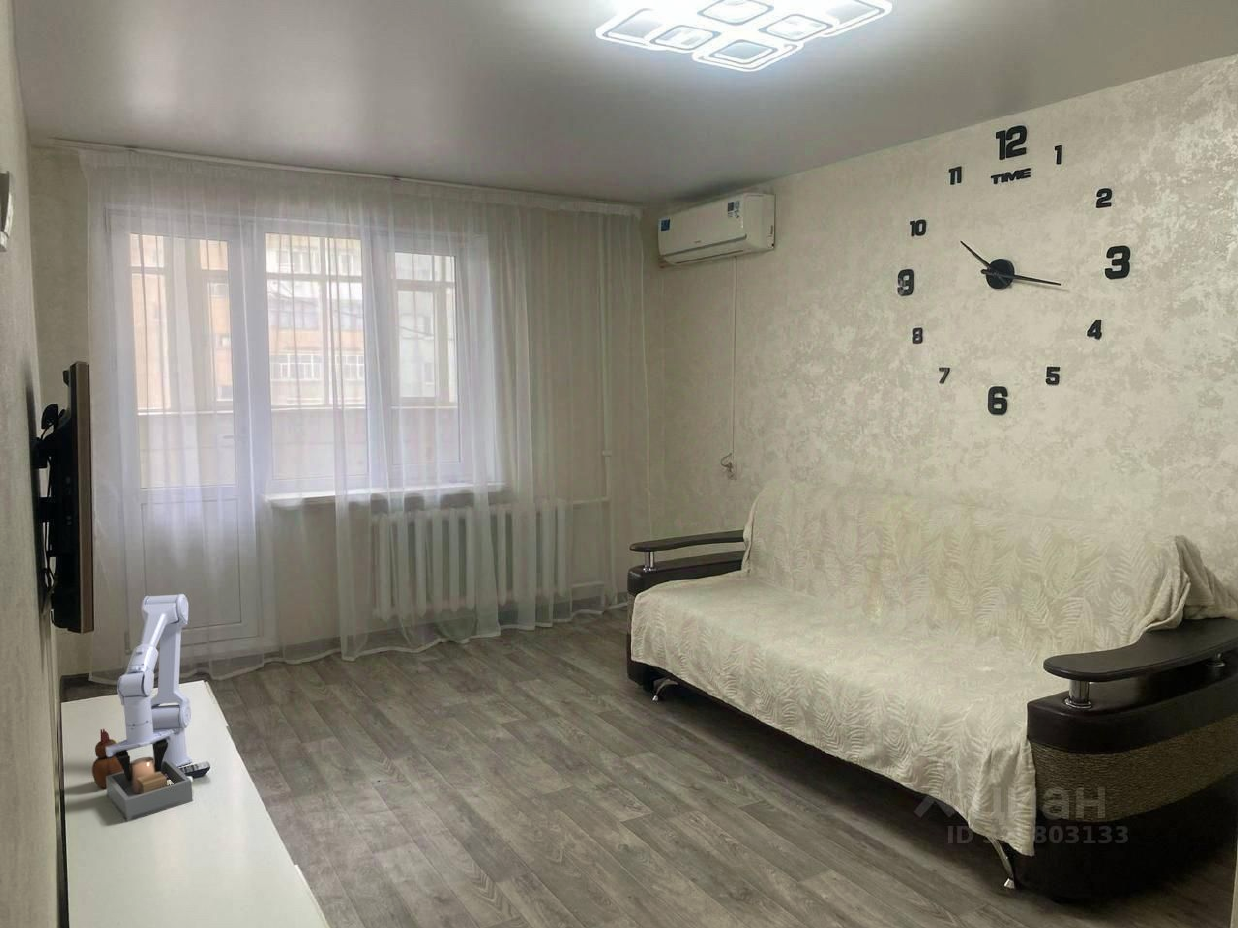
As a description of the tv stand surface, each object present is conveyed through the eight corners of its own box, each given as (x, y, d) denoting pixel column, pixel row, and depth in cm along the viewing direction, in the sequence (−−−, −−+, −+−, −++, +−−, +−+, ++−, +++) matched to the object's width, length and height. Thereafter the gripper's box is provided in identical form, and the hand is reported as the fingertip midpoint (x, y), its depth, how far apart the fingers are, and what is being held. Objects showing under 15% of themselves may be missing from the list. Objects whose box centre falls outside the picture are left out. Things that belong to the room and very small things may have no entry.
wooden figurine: (109, 791, 218) (103, 732, 216) (88, 789, 219) (83, 731, 217) (129, 779, 224) (124, 721, 223) (109, 777, 225) (104, 720, 224)
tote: (107, 796, 215) (105, 776, 214) (169, 777, 224) (168, 758, 224) (127, 821, 202) (125, 800, 201) (192, 800, 211) (190, 780, 211)
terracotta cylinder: (130, 789, 216) (127, 761, 215) (153, 782, 219) (149, 755, 219) (136, 795, 212) (132, 767, 212) (158, 788, 216) (155, 760, 215)
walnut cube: (138, 798, 211) (137, 778, 210) (161, 791, 214) (160, 771, 214) (145, 805, 207) (143, 784, 207) (168, 797, 211) (166, 777, 210)
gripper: (109, 734, 206) (114, 790, 208) (176, 717, 216) (180, 770, 217) (101, 726, 212) (106, 781, 213) (167, 709, 221) (171, 762, 223)
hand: (143, 775), depth 215 cm, fingers open, 6 cm apart
